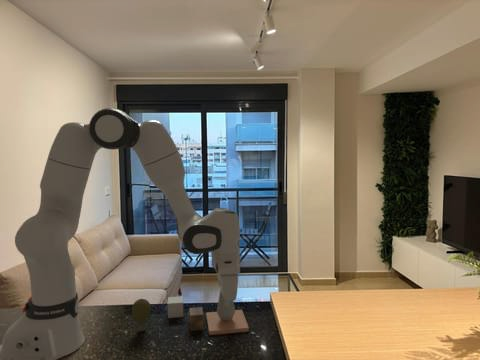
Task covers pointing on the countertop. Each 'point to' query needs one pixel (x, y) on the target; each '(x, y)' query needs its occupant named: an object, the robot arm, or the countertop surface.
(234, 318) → the terracotta tile
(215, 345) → the countertop surface
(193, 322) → the walnut block
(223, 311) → the salt shaker
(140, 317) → the light bulb
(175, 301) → the pale grey block
